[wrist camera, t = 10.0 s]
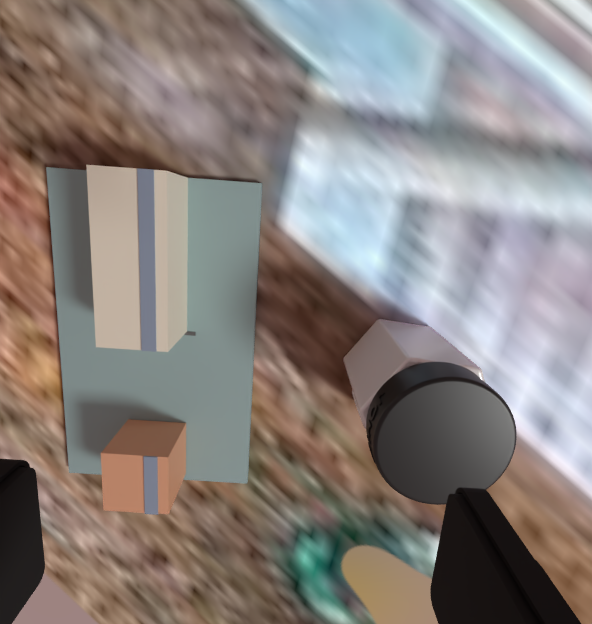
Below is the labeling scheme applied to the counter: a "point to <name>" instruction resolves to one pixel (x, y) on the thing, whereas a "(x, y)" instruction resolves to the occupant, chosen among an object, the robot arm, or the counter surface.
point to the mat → (185, 353)
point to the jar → (428, 412)
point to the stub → (144, 467)
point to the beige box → (138, 256)
